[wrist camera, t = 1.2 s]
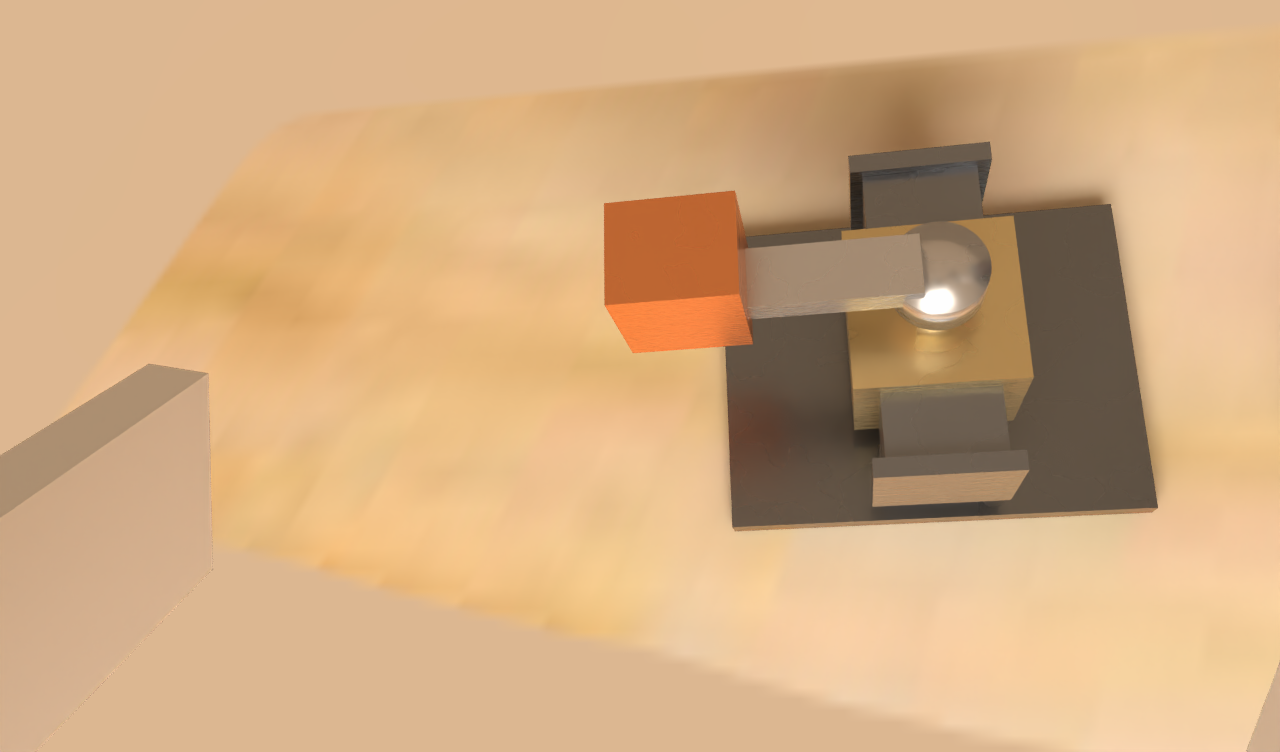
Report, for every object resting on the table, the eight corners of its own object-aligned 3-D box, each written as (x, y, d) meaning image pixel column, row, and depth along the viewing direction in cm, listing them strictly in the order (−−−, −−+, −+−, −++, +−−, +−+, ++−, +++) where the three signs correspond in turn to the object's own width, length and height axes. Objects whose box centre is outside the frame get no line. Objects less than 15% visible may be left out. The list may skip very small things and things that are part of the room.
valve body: (1106, 213, 41) (1159, 99, 34) (1152, 512, 38) (1222, 457, 31) (724, 247, 44) (695, 147, 36) (734, 531, 40) (706, 484, 33)
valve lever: (980, 234, 33) (996, 165, 29) (991, 329, 32) (1010, 272, 28) (633, 264, 35) (604, 203, 31) (635, 356, 34) (604, 305, 30)
